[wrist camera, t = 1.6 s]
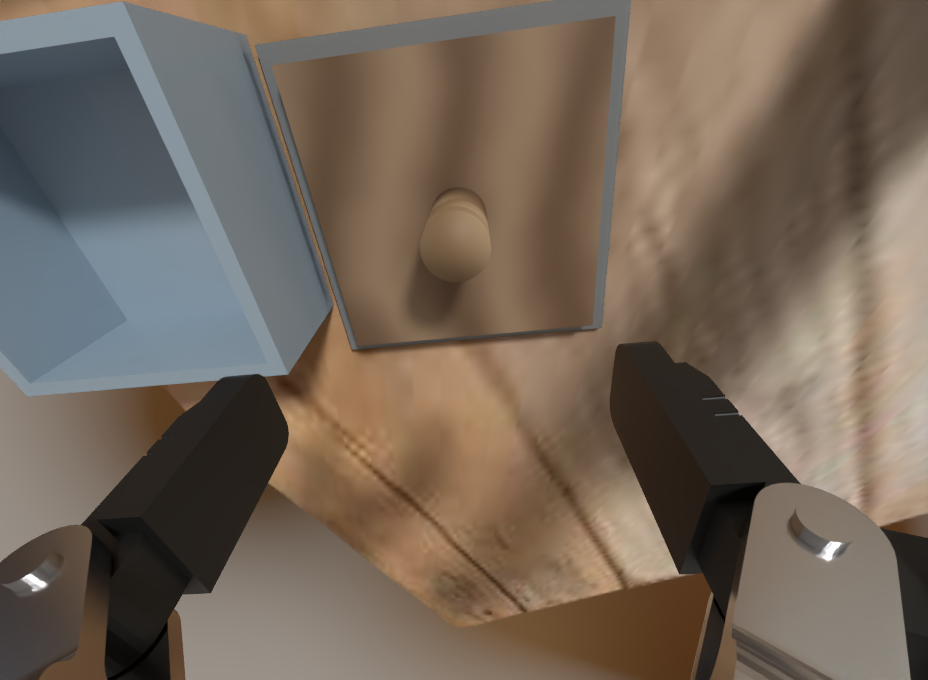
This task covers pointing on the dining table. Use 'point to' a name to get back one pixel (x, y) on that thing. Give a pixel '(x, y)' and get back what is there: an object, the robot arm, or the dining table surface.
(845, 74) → the dining table surface
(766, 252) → the dining table surface
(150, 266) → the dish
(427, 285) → the lid
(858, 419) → the dining table surface
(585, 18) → the mat
